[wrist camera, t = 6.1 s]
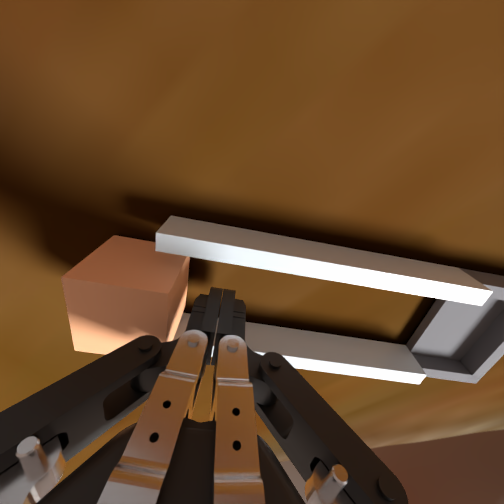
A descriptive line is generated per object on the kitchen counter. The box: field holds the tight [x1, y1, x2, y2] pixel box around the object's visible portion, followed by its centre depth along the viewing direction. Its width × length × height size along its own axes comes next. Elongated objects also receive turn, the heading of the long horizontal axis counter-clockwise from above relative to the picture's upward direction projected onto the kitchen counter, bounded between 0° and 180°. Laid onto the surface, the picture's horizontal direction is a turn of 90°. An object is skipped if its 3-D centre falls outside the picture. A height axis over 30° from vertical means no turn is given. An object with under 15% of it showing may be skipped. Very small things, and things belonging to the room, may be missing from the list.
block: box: [61, 235, 190, 354], centre depth 14 cm, size 4×4×4 cm
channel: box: [156, 216, 493, 384], centre depth 15 cm, size 18×8×2 cm, turn 79°
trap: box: [406, 268, 504, 383], centre depth 17 cm, size 5×8×2 cm, turn 169°
